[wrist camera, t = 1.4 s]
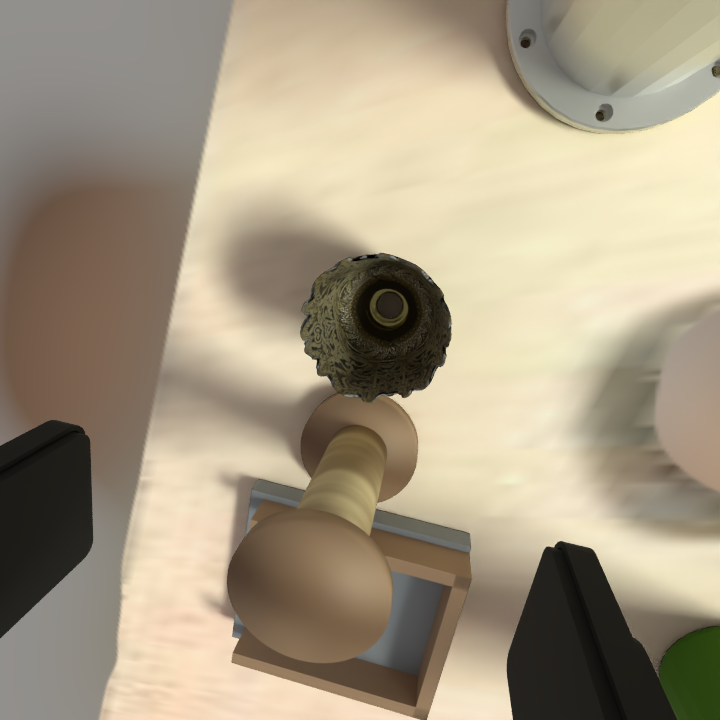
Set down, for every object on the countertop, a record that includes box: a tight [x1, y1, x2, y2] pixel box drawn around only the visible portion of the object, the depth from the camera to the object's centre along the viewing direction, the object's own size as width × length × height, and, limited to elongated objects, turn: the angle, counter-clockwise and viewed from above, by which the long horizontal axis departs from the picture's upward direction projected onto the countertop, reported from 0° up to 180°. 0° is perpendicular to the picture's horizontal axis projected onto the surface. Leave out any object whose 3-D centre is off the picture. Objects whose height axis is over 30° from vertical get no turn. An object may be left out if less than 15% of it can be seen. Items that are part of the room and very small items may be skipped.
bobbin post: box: [227, 393, 418, 663], centre depth 26 cm, size 8×8×14 cm
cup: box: [300, 253, 452, 403], centre depth 27 cm, size 8×7×8 cm
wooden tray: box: [232, 479, 472, 720], centre depth 35 cm, size 14×16×4 cm
